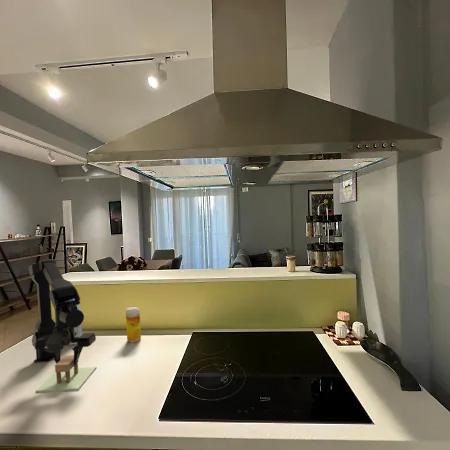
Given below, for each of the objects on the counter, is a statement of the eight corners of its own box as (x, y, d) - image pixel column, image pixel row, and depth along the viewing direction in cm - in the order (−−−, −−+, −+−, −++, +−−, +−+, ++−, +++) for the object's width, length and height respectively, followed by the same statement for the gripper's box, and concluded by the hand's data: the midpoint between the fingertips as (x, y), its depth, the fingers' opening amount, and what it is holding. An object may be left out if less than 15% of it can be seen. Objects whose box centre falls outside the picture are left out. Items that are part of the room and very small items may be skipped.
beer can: (137, 343, 133) (135, 310, 133) (124, 342, 134) (123, 309, 134) (143, 337, 139) (141, 306, 139) (131, 337, 140) (129, 305, 140)
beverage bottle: (77, 345, 134) (74, 301, 134) (58, 345, 134) (56, 302, 134) (86, 337, 143) (84, 296, 142) (68, 338, 143) (66, 296, 142)
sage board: (35, 392, 98) (35, 390, 98) (58, 370, 112) (58, 368, 112) (78, 390, 98) (78, 388, 98) (96, 368, 112) (96, 366, 112)
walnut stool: (66, 373, 108) (65, 355, 108) (79, 372, 108) (78, 354, 108) (56, 383, 101) (54, 365, 101) (69, 383, 101) (68, 364, 101)
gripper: (22, 331, 96) (25, 378, 96) (80, 328, 96) (83, 375, 97) (43, 319, 107) (45, 361, 107) (95, 316, 107) (97, 359, 108)
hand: (67, 364), depth 105 cm, fingers open, 6 cm apart
